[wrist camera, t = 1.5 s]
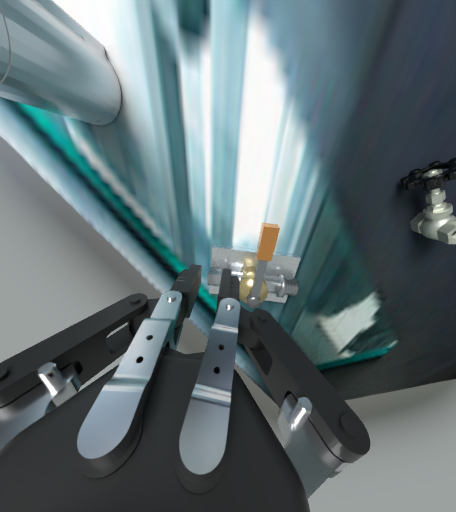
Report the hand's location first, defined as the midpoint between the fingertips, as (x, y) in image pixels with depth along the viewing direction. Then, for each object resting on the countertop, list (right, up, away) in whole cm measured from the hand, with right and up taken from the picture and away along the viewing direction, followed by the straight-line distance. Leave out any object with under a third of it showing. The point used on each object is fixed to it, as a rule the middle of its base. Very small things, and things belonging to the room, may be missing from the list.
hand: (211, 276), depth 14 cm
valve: (+34, +11, +16) cm, 39 cm away
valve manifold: (+7, -2, +24) cm, 25 cm away
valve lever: (+7, 0, +14) cm, 16 cm away
